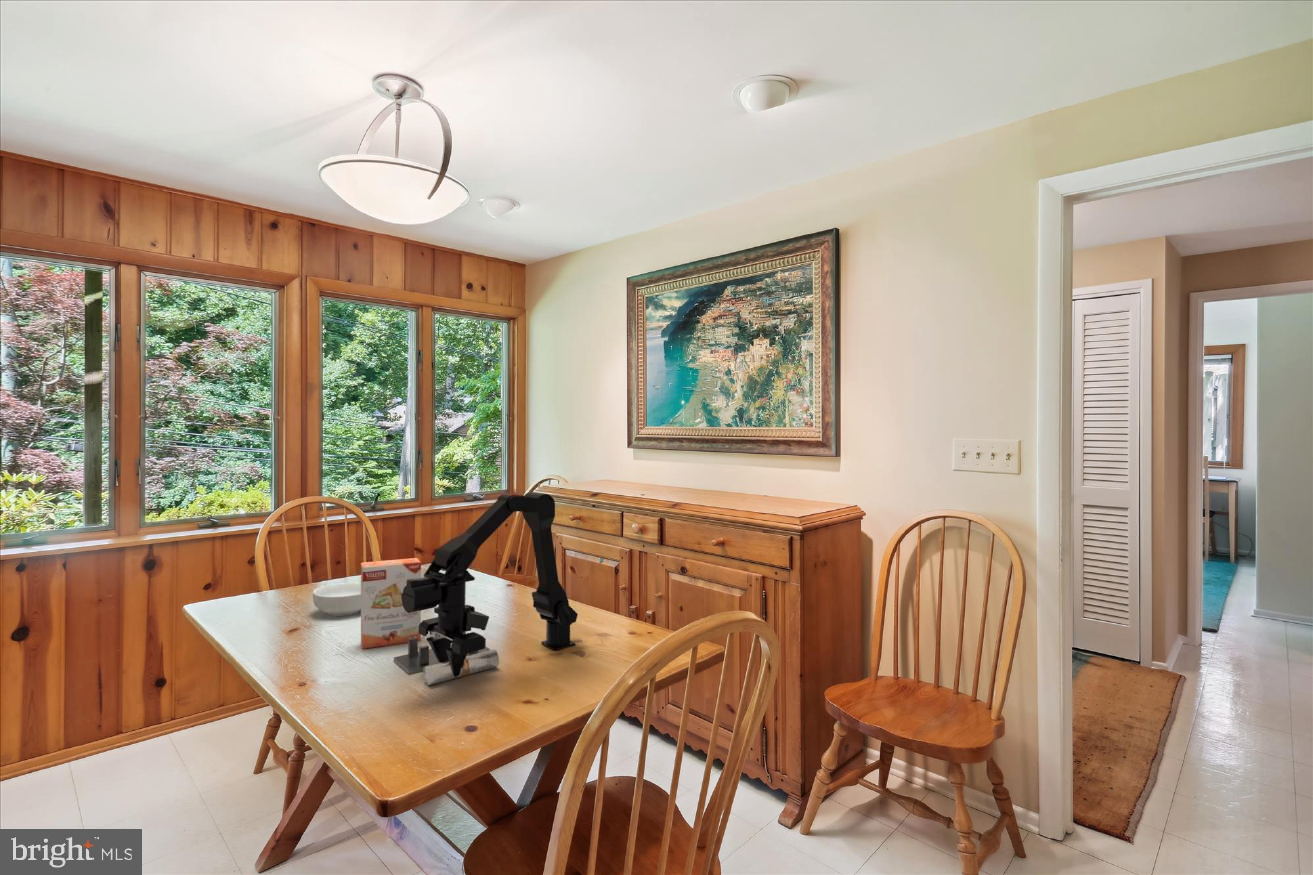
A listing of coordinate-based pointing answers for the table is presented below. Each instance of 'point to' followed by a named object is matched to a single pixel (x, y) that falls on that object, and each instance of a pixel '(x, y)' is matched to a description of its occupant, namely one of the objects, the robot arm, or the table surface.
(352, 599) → the cereal bowl
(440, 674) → the tube
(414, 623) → the cracker box
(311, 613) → the table surface
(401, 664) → the stand
